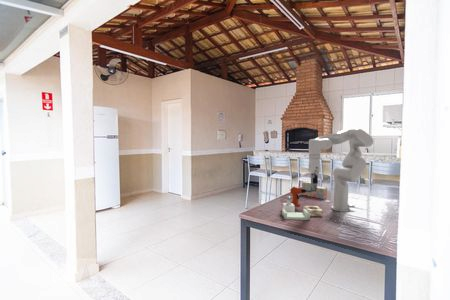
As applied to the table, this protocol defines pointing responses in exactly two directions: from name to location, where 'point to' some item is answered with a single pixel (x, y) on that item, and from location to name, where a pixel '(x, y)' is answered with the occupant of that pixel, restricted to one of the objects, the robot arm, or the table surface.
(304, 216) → the tray
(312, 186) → the grey round peg
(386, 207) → the table surface
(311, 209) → the socket
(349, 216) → the table surface
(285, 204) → the housing
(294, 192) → the toy drill
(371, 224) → the table surface
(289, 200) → the grey ball-topped peg
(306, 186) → the stack of blocks
